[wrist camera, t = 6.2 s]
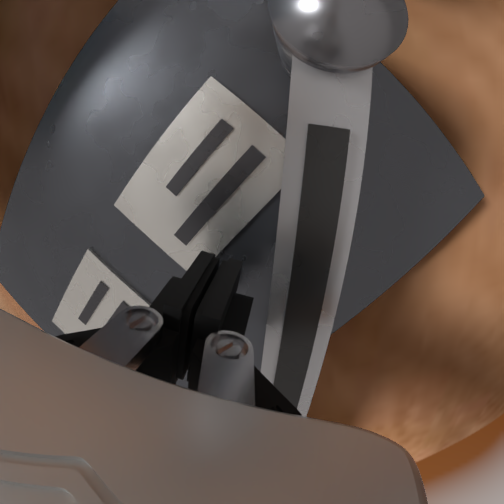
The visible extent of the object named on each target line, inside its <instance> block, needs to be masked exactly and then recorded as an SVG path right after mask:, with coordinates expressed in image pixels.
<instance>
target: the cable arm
mask: <svg viewBox="0 0 504 504" xmlns="http://www.w3.org/2000/svg"><path fill="white" fill-rule="evenodd" d="M268 9H269V14H270V18H271V22H272V26H273V30H274V34H275V38H276V43H277V47H278V51H279V55H280V58H281V60H282V62H283V64H284V65H285V67H286V68H287V69H288V71H289V72H290V73H291V81H290V94H289V107H288V119H287V131H286V142H285V153H284V164H283V175H282V186H281V196H280V206H279V216H278V226H277V235H276V245H275V254H274V264H273V273H272V282H271V290H270V299H269V308H268V316H267V324H266V333H265V341H264V349H263V357H262V365H261V373H262V374H263V375H264V376H265V377H266V378H267V379H268V380H269V381H270V382H271V383H272V384H273V385H274V386H275V387H276V388H277V389H278V390H279V391H280V392H281V393H282V394H283V395H284V396H285V397H286V398H287V399H288V400H289V401H290V402H291V403H292V404H293V405H294V406H295V407H296V408H297V409H298V411H299V412H300V413H301V415H302V416H305V417H306V416H307V413H308V410H309V407H310V404H311V401H312V397H313V394H314V391H315V388H316V384H317V381H318V378H319V374H320V371H321V367H322V364H323V360H324V357H325V353H326V350H327V346H328V342H329V338H330V335H331V331H332V327H333V323H334V319H335V315H336V311H337V307H338V302H339V298H340V294H341V289H342V285H343V280H344V276H345V271H346V266H347V262H348V257H349V252H350V246H351V241H352V236H353V230H354V225H355V219H356V213H357V207H358V201H359V195H360V188H361V181H362V174H363V167H364V159H365V151H366V142H367V133H368V123H369V113H370V101H371V87H372V71H373V67H374V66H376V65H377V64H378V63H380V62H381V61H382V60H384V59H385V58H386V57H388V56H389V55H390V54H391V53H393V52H394V51H395V50H396V49H397V48H398V47H399V46H400V44H401V43H402V41H403V40H404V37H405V35H406V32H407V28H408V11H407V7H406V4H405V1H404V0H268Z"/></svg>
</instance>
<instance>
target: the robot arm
mask: <svg viewBox="0 0 504 504" xmlns="http://www.w3.org/2000/svg"><path fill="white" fill-rule="evenodd" d="M215 256H216V255H215V254H213V253H209V252H205V251H201V252H200V253H199V255H198V256H197V257H196V259H195V260H194V262H193V263H192V264H191V266H190V267H189V269H188V270H187V271H186V273H185V274H184V276H183V277H182V278H178V277H175V276H173V277H172V278H171V279H170V280H169V281H168V283H167V284H166V285H165V286H164V288H163V289H162V290H161V292H160V293H159V294H158V296H157V297H156V298H155V300H154V301H153V302H152V304H151V305H150V306H149V307H147V306H131V307H128V308H126V309H124V310H122V311H121V312H120V313H119V314H117V315H116V316H115V317H114V318H113V319H111V320H110V321H109V322H108V323H107V324H106V325H104V326H103V327H102V328H97V329H91V330H86V331H80V332H74V333H68V334H62V335H58V336H53V335H51V334H49V333H47V332H45V331H43V330H41V329H39V328H37V327H35V326H33V325H31V324H29V323H27V322H25V321H23V320H21V319H19V318H17V317H15V316H13V315H11V314H9V313H8V312H6V311H4V310H2V309H0V504H428V502H427V497H426V493H425V489H424V485H423V481H422V478H421V476H420V473H419V470H418V467H417V465H416V463H415V461H414V459H413V458H412V456H411V455H410V454H409V453H408V451H406V450H405V449H404V448H403V447H402V446H401V445H399V444H397V443H396V442H394V441H392V440H390V439H389V438H386V437H384V436H381V435H379V434H377V433H374V432H372V431H369V430H365V429H362V428H359V427H355V426H351V425H346V424H342V423H338V422H332V421H326V420H320V419H315V418H310V417H305V416H302V415H301V413H300V412H299V411H298V409H297V408H296V407H295V406H294V405H293V404H292V403H291V402H290V401H289V400H288V399H287V398H286V397H285V396H284V395H283V394H282V393H281V392H280V391H279V390H278V389H277V388H276V387H275V386H274V385H273V384H272V383H271V382H270V381H269V380H268V379H267V378H266V377H265V376H264V375H263V374H262V373H261V372H260V371H259V370H258V369H257V368H256V367H255V366H254V349H253V345H252V343H251V342H250V341H249V339H247V338H246V337H245V336H244V335H245V331H246V327H247V323H248V319H249V315H250V311H251V307H252V303H253V299H254V297H250V296H246V295H242V294H238V293H236V292H237V288H238V283H239V279H240V274H241V270H242V265H243V261H241V260H237V259H233V258H229V259H228V261H226V260H223V261H222V263H221V265H220V267H219V262H220V259H218V258H215ZM218 268H219V269H218ZM187 370H188V372H187ZM186 372H187V382H188V388H185V387H182V386H178V385H175V384H176V382H177V380H178V379H181V380H183V379H184V377H185V375H186Z"/></svg>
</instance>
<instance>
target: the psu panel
mask: <svg viewBox="0 0 504 504" xmlns="http://www.w3.org/2000/svg"><path fill="white" fill-rule="evenodd" d="M290 81H291V73H290V72H289V71H288V69H287V68H286V67H285V65H284V64H283V62H282V60H281V58H280V55H279V51H278V47H277V43H276V38H275V34H274V30H273V26H272V22H271V18H270V14H269V9H268V0H118V2H117V3H116V4H115V5H114V6H113V8H112V9H111V10H110V11H109V13H108V14H107V15H106V16H105V18H104V19H103V20H102V22H101V23H100V24H99V26H98V27H97V28H96V30H95V31H94V32H93V34H92V35H91V36H90V38H89V39H88V41H87V42H86V44H85V45H84V47H83V48H82V49H81V51H80V52H79V54H78V56H77V57H76V59H75V60H74V62H73V63H72V65H71V67H70V68H69V70H68V71H67V73H66V75H65V76H64V78H63V80H62V81H61V83H60V85H59V87H58V88H57V90H56V92H55V94H54V96H53V98H52V99H51V101H50V103H49V105H48V107H47V109H46V111H45V113H44V115H43V117H42V119H41V121H40V123H39V125H38V127H37V130H36V132H35V134H34V136H33V138H32V141H31V143H30V145H29V148H28V150H27V152H26V155H25V157H24V160H23V162H22V165H21V167H20V170H19V173H18V175H17V178H16V181H15V184H14V187H13V190H12V193H11V196H10V199H9V202H8V205H7V208H6V212H5V215H4V219H3V222H2V226H1V230H0V283H1V284H2V285H3V286H4V288H5V289H6V290H7V291H8V292H9V293H10V295H11V296H12V297H13V298H14V299H15V300H16V302H17V303H18V304H19V305H20V306H21V307H22V308H23V309H24V310H25V311H26V313H27V314H28V315H29V316H30V317H31V318H32V319H33V320H34V321H35V322H36V323H37V324H38V325H39V326H40V327H41V328H42V329H43V330H44V331H45V332H47V333H49V334H51V335H53V336H58V335H62V334H68V333H74V332H80V331H86V330H91V329H97V328H102V327H103V326H104V325H106V324H107V323H108V322H109V321H110V320H111V319H113V318H114V317H115V316H116V315H117V314H119V313H120V312H121V311H122V310H124V309H126V308H128V307H131V306H147V307H149V306H150V305H151V304H152V302H153V301H154V300H155V298H156V297H157V296H158V294H159V293H160V292H161V290H162V289H163V288H164V286H165V285H166V284H167V283H168V281H169V280H170V279H171V278H172V277H173V276H175V277H178V278H182V277H183V276H184V274H185V273H186V271H187V270H188V269H189V267H190V266H191V264H192V263H193V262H194V260H195V259H196V257H197V256H198V255H199V253H200V252H201V251H205V252H209V253H213V254H215V255H216V256H215V258H218V259H220V262H219V267H220V265H221V263H222V261H223V260H226V261H228V259H229V258H233V259H237V260H241V261H243V265H242V270H241V274H240V279H239V283H238V288H237V292H236V293H238V294H242V295H246V296H250V297H254V299H253V303H252V307H251V311H250V315H249V319H248V323H247V327H246V331H245V335H244V336H245V337H246V338H247V339H249V341H250V342H251V343H252V345H253V349H254V366H255V367H256V368H257V369H258V370H259V371H260V372H261V365H262V357H263V349H264V341H265V333H266V324H267V316H268V308H269V299H270V290H271V282H272V273H273V264H274V254H275V245H276V235H277V226H278V216H279V206H280V196H281V186H282V175H283V164H284V153H285V142H286V131H287V119H288V107H289V94H290ZM483 197H484V194H483V192H482V191H481V189H480V187H479V186H478V184H477V182H476V181H475V179H474V178H473V176H472V174H471V173H470V171H469V170H468V168H467V167H466V165H465V164H464V162H463V161H462V159H461V158H460V156H459V155H458V154H457V152H456V151H455V149H454V148H453V146H452V145H451V144H450V142H449V141H448V140H447V138H446V137H445V136H444V134H443V133H442V132H441V130H440V129H439V128H438V126H437V125H436V124H435V123H434V121H433V120H432V119H431V118H430V116H429V115H428V114H427V113H426V111H425V110H424V109H423V108H422V107H421V105H420V104H419V103H418V102H417V101H416V100H415V99H414V97H413V96H412V95H411V94H410V93H409V92H408V91H407V90H406V88H405V87H404V86H403V85H402V84H401V83H400V82H399V81H398V80H397V79H396V78H395V77H394V76H393V75H392V73H391V72H390V71H389V70H388V69H387V68H386V67H385V66H384V65H383V64H382V63H381V62H380V63H378V64H377V65H376V66H374V67H373V71H372V87H371V101H370V113H369V123H368V133H367V142H366V151H365V159H364V167H363V174H362V181H361V188H360V195H359V201H358V207H357V213H356V219H355V225H354V230H353V236H352V241H351V246H350V252H349V257H348V262H347V266H346V271H345V276H344V280H343V285H342V289H341V294H340V298H339V302H338V307H337V311H336V315H335V319H334V323H333V327H332V331H331V334H332V333H334V332H335V331H336V330H338V329H339V328H340V327H341V326H343V325H344V324H345V323H347V322H348V321H349V320H350V319H352V318H353V317H354V316H356V315H357V314H358V313H359V312H361V311H362V310H363V309H364V308H366V307H367V306H368V305H369V304H371V303H372V302H373V301H374V300H375V299H377V298H378V297H379V296H380V295H381V294H383V293H384V292H385V291H386V290H387V289H388V288H390V287H391V286H392V285H393V284H394V283H395V282H397V281H398V280H399V279H400V278H401V277H402V276H403V275H405V274H406V273H407V272H408V271H409V270H410V269H411V268H412V267H414V266H415V265H416V264H417V263H418V262H419V261H420V260H421V259H422V258H423V257H424V256H426V255H427V254H428V253H429V252H430V251H431V250H432V249H433V248H434V247H435V246H436V245H437V244H438V243H439V242H440V241H441V240H442V239H443V238H444V237H445V236H446V235H447V234H448V233H449V232H450V231H451V230H452V229H453V228H454V227H455V226H456V225H457V224H458V223H459V222H460V221H461V220H462V219H463V218H464V217H465V216H466V215H467V214H468V213H469V212H470V211H471V210H472V209H473V208H474V207H475V206H476V205H477V204H478V202H479V201H480V200H481V199H482V198H483ZM218 269H219V268H218ZM187 372H188V370H187ZM187 372H186V375H185V377H184V379H183V380H181V379H178V380H177V382H176V384H175V385H178V386H182V387H185V388H188V382H187Z"/></svg>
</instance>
